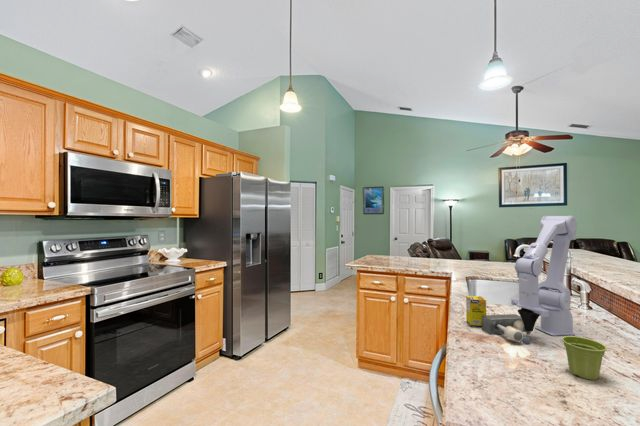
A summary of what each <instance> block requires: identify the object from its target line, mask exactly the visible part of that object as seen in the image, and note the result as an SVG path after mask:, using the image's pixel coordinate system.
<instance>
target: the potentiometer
mask: <svg viewBox="0 0 640 426" xmlns="http://www.w3.org/2000/svg"><path fill="white" fill-rule="evenodd" d="M530 337H531V336H529V335H526V332H523V339H522V341H520V342H519V343H520V345H530V344H531V343H530V342H531V340H530V339H531V338H530Z"/></svg>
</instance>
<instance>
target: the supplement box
mask: <svg viewBox="0 0 640 426" xmlns="http://www.w3.org/2000/svg"><path fill="white" fill-rule="evenodd" d="M465 299H466V301H465V307H466V308H465V309H466V310H465V311H466V323H467V325H469V327H470V328H481V329H482V315H487V300H486V298H484V297H483V296H479V295H478V296H477V295H466V296H465Z"/></svg>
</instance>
